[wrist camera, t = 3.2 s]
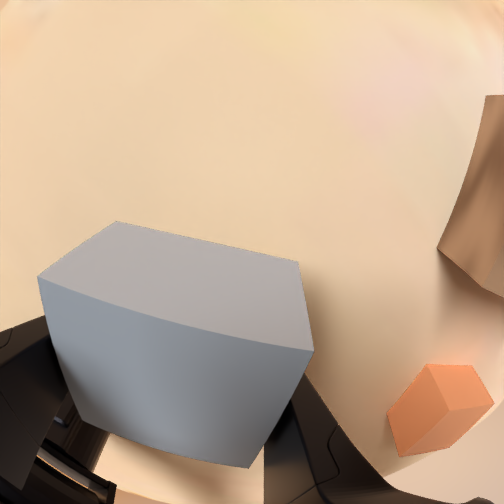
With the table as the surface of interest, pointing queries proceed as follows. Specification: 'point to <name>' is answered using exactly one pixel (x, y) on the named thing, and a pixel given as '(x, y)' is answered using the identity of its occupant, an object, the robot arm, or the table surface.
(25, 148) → the table surface
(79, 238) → the table surface
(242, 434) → the grey block
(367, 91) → the table surface
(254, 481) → the table surface
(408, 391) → the terracotta block
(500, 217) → the walnut base
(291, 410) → the robot arm
